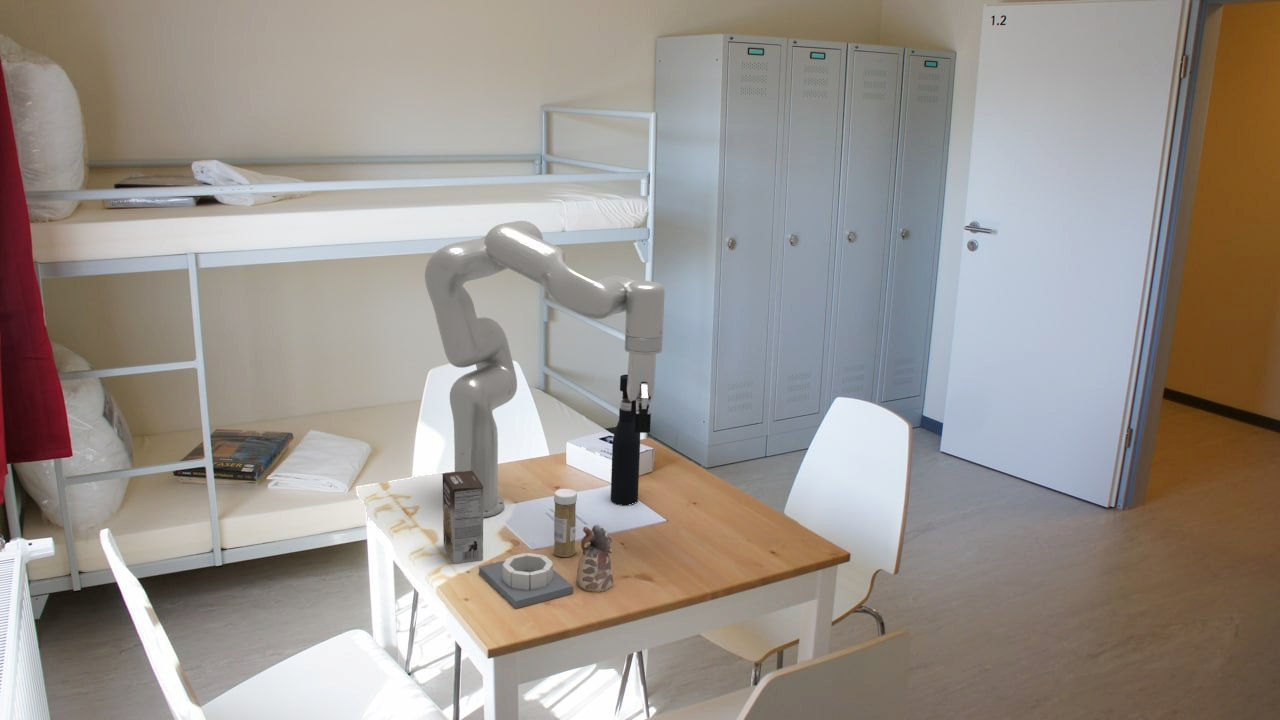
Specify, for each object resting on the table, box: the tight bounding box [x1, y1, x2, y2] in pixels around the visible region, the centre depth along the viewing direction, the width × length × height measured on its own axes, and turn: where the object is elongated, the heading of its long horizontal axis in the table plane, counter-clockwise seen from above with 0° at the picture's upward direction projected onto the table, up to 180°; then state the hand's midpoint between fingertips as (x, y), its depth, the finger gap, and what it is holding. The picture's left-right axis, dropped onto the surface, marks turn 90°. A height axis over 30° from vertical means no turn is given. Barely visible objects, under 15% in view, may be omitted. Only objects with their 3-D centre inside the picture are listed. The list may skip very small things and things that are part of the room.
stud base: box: [478, 552, 574, 609], centre depth 192 cm, size 16×12×4 cm
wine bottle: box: [610, 373, 641, 506], centre depth 231 cm, size 6×6×30 cm
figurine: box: [576, 524, 614, 593], centre depth 192 cm, size 7×7×12 cm
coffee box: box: [441, 471, 484, 565], centre depth 202 cm, size 9×6×16 cm
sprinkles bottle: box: [553, 488, 578, 558], centre depth 204 cm, size 5×5×13 cm
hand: (640, 424), depth 205 cm, fingers open, 9 cm apart
